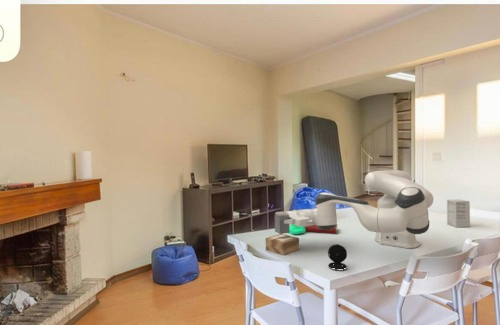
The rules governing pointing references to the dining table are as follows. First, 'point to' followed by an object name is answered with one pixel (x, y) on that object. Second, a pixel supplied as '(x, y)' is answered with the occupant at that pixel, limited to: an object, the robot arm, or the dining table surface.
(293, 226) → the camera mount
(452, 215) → the supplement box
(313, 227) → the hardcover book
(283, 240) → the stand
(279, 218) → the block
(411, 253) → the dining table surface
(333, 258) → the webcam
